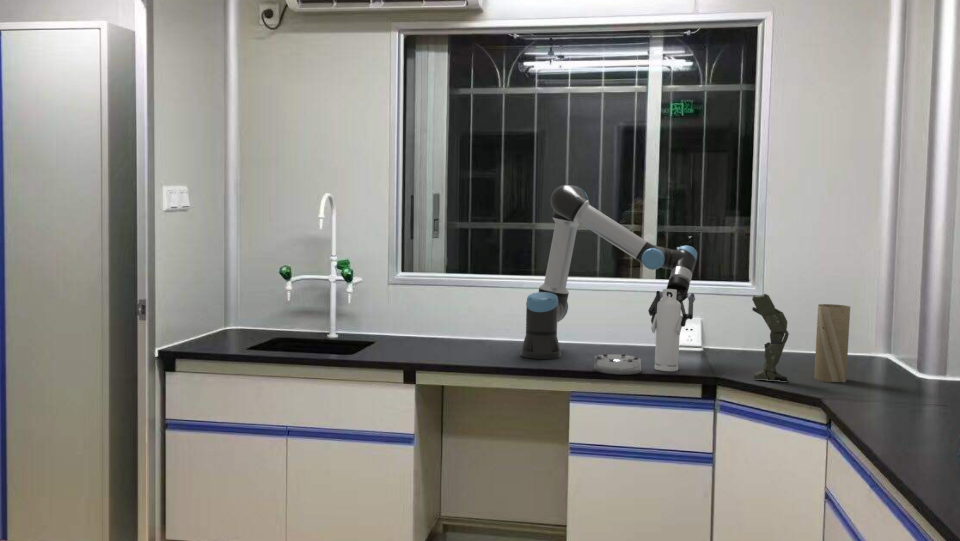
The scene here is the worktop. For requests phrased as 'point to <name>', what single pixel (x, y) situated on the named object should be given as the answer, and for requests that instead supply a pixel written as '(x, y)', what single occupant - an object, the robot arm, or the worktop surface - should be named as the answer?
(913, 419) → the worktop surface
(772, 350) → the mechanical leg
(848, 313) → the tube
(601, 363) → the flange stand
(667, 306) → the bottle
